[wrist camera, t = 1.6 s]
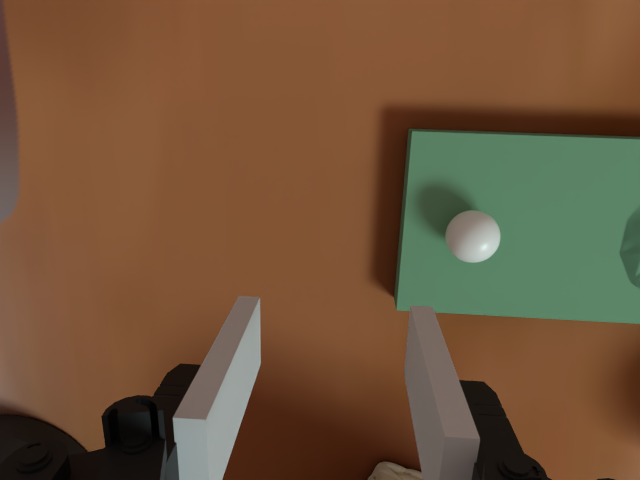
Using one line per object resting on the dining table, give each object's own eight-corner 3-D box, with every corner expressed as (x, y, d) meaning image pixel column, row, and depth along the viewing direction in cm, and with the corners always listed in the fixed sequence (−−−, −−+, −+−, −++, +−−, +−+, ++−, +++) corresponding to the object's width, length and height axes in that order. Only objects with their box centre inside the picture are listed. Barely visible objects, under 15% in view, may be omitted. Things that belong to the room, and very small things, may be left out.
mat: (394, 297, 35) (396, 310, 33) (408, 128, 31) (412, 131, 29) (739, 316, 33) (763, 330, 31) (797, 142, 30) (828, 146, 28)
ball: (438, 251, 31) (447, 269, 28) (444, 203, 30) (454, 216, 27) (488, 253, 31) (503, 271, 28) (495, 205, 30) (511, 219, 27)
